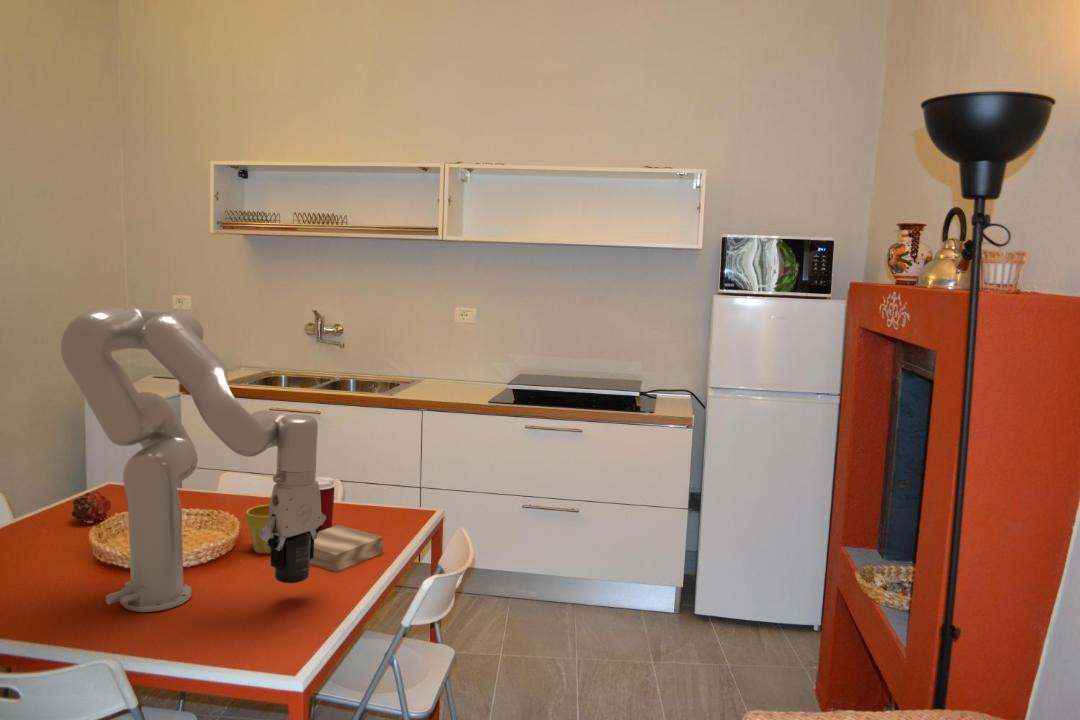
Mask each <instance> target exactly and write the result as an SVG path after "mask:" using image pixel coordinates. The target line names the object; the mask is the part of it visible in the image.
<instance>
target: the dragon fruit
mask: <svg viewBox="0 0 1080 720" xmlns="http://www.w3.org/2000/svg"><path fill="white" fill-rule="evenodd" d="M72 505H73V508H72V509H73V511H72V512H71V516H72V517H73V518H75V519H77V520H80V521H82V520H85V521H100V520H99V519H103V520H104V518H106V519H107V514H108V511H110V510H111V508H112V503H111V500H109V499H108V497H107V496H106V495H105V494H103V493H101V492H100V491H96V490H93V491H92V492H87V493H85V494H82V495H81V496H80V498H76V499H74V500H73V501H72Z"/></svg>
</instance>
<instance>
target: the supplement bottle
mask: <svg viewBox="0 0 1080 720" xmlns="http://www.w3.org/2000/svg"><path fill="white" fill-rule="evenodd" d="M279 538H280V536H278V538H277V541H276V542H278V540H279ZM282 549H283V550H284V568H283V569H281V570H280V569H277V568H275V567H273V568H274V569H273V570H274V571H273V572H274V573H273V574H274V575H273V577H274V579H275V580H276V581H277V582H280V583H283V584H296V583H297V584H298V583H301V582H304V581H306V580H307V579H308V578H309V576H310V569H311V564H310V549H311V536H310V534H309V533H308V532H306V533H303V534H299V535H296V536H293V537H289V538H286V540H285V542H284V544H283V547H282Z"/></svg>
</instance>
